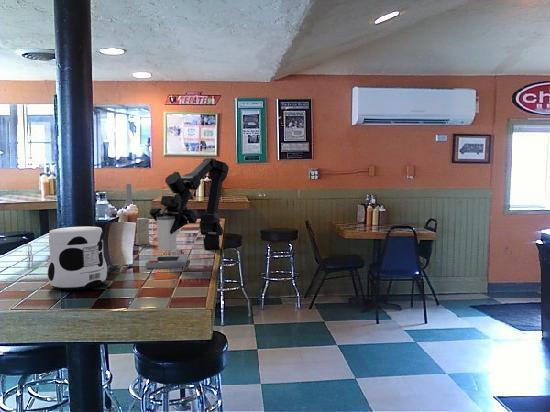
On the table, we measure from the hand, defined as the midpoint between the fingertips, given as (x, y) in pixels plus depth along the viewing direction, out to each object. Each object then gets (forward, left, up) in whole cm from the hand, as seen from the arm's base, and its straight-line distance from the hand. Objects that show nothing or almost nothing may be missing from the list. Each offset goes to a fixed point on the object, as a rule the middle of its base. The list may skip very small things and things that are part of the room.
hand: (164, 233), depth 183 cm
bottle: (+25, -65, -12) cm, 71 cm away
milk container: (+23, +29, -12) cm, 39 cm away
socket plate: (-1, -1, -12) cm, 12 cm away
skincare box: (+17, -49, -12) cm, 54 cm away
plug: (-1, -1, -7) cm, 7 cm away
